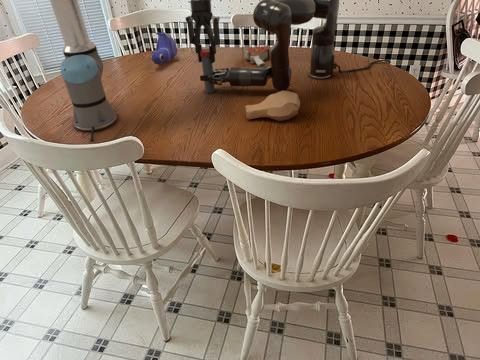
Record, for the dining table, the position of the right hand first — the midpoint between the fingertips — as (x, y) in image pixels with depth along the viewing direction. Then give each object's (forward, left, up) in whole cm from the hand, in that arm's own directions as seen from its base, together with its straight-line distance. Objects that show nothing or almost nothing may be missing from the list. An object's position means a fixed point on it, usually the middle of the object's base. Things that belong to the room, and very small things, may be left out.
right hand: (202, 76), depth 149 cm
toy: (+14, -44, -7) cm, 46 cm away
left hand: (-2, +1, +6) cm, 7 cm away
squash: (-20, +34, -7) cm, 40 cm away
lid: (-2, +1, +10) cm, 11 cm away
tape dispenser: (-31, -28, -7) cm, 43 cm away
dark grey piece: (-2, +1, -7) cm, 7 cm away
